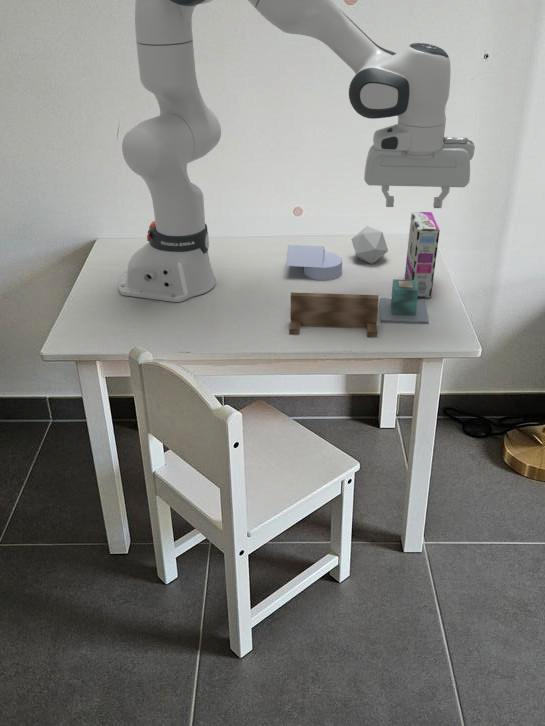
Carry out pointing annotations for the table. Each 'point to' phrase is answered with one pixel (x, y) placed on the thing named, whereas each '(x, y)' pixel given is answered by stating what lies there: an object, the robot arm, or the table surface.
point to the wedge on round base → (315, 261)
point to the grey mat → (388, 317)
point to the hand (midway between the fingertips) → (413, 206)
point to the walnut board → (334, 311)
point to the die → (369, 244)
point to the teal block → (404, 297)
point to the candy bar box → (422, 251)
